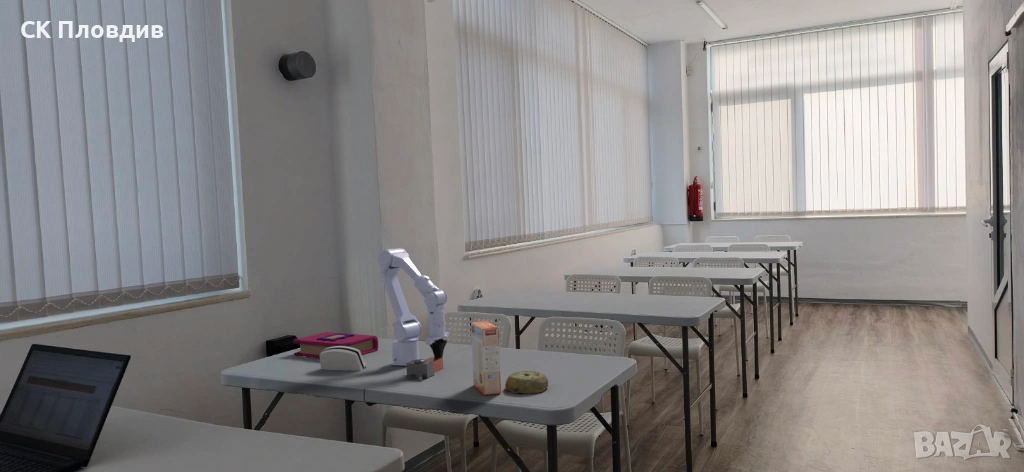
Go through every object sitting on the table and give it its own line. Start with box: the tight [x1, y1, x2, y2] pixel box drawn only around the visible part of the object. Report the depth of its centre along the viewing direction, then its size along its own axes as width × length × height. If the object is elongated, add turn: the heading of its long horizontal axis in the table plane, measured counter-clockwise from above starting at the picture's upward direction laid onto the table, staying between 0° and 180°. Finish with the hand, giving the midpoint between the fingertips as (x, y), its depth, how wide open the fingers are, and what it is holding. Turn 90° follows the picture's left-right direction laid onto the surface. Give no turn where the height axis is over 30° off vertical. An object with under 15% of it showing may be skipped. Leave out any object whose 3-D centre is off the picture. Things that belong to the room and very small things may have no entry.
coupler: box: [403, 358, 435, 382], centre depth 246 cm, size 19×8×6 cm, turn 158°
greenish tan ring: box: [505, 370, 549, 395], centre depth 221 cm, size 14×13×5 cm
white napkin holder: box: [319, 346, 368, 372], centre depth 258 cm, size 17×5×10 cm, turn 75°
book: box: [293, 331, 379, 359], centre depth 289 cm, size 21×28×8 cm
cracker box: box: [471, 320, 502, 396], centre depth 222 cm, size 14×6×21 cm, turn 17°
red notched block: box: [425, 356, 444, 374], centre depth 251 cm, size 5×7×4 cm, turn 159°
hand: (438, 360), depth 255 cm, fingers closed
